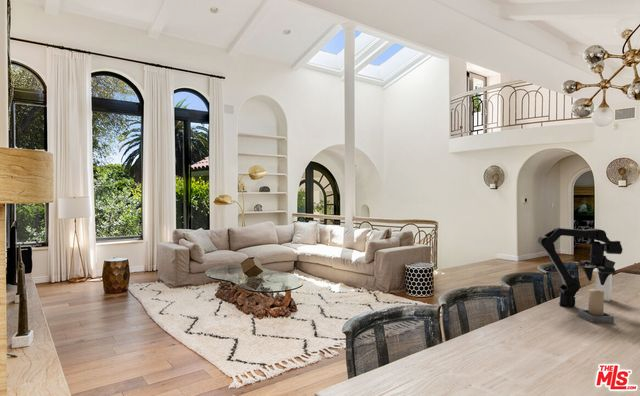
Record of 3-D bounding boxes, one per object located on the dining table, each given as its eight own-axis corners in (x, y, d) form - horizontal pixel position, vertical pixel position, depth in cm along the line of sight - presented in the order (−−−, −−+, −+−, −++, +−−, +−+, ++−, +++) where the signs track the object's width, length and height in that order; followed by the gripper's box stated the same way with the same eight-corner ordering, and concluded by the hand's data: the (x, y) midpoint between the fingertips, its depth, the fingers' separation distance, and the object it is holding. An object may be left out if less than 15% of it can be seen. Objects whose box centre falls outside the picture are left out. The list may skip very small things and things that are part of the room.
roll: (589, 319, 192) (589, 291, 192) (587, 315, 198) (587, 288, 198) (604, 320, 190) (605, 292, 190) (602, 317, 195) (602, 290, 195)
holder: (578, 315, 199) (578, 309, 198) (598, 316, 199) (598, 310, 199) (592, 322, 189) (593, 316, 188) (613, 323, 189) (614, 316, 189)
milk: (611, 299, 229) (613, 260, 229) (608, 301, 225) (610, 261, 224) (598, 297, 234) (600, 258, 233) (595, 298, 230) (597, 260, 229)
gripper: (626, 256, 203) (624, 287, 203) (599, 250, 222) (598, 278, 222) (604, 256, 203) (603, 287, 203) (579, 250, 221) (578, 278, 222)
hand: (595, 282), depth 213 cm, fingers open, 9 cm apart
